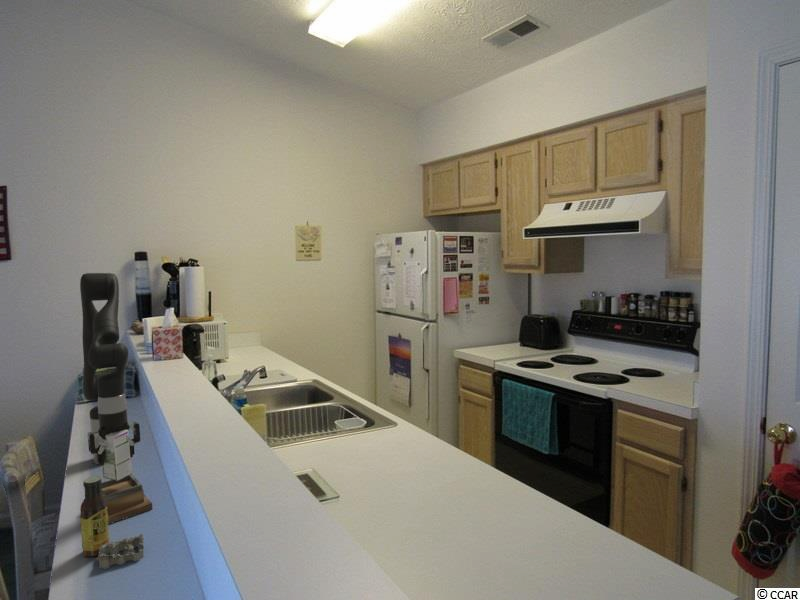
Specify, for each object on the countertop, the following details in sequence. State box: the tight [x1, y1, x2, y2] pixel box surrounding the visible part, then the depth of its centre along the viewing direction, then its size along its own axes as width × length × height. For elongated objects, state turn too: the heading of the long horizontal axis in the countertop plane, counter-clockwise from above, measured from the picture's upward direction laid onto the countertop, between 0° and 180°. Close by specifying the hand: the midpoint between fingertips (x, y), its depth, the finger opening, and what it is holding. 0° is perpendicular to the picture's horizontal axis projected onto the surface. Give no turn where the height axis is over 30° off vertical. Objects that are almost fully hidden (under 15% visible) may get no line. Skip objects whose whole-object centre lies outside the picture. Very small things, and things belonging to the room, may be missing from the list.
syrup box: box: [100, 430, 133, 481], centre depth 158 cm, size 6×6×14 cm
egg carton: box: [97, 533, 145, 570], centre depth 135 cm, size 11×8×4 cm
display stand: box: [101, 473, 153, 525], centre depth 159 cm, size 16×14×8 cm
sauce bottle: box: [79, 476, 110, 558], centre depth 137 cm, size 6×6×20 cm
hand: (116, 460), depth 158 cm, fingers closed on syrup box, 7 cm apart
